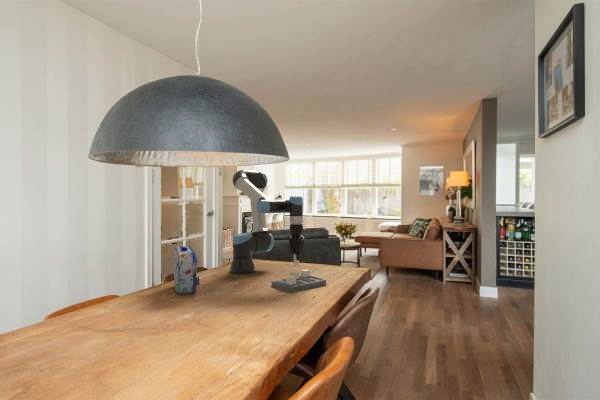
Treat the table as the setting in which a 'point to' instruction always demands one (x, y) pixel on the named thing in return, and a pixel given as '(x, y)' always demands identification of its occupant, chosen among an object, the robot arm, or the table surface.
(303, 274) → the switch
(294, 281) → the switch
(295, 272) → the switch middle
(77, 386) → the table surface
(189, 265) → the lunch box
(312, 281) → the switch panel
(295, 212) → the robot arm
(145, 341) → the table surface
